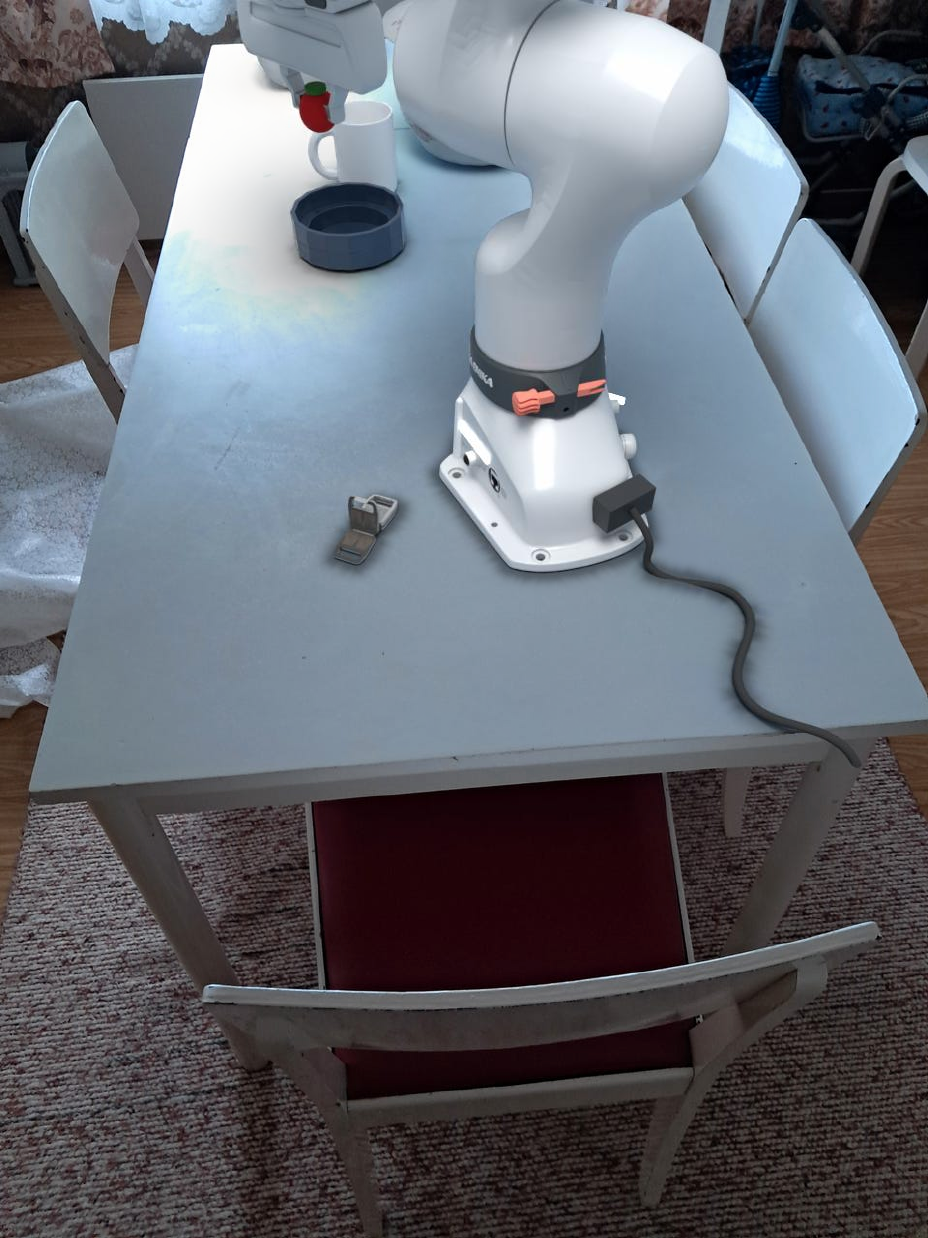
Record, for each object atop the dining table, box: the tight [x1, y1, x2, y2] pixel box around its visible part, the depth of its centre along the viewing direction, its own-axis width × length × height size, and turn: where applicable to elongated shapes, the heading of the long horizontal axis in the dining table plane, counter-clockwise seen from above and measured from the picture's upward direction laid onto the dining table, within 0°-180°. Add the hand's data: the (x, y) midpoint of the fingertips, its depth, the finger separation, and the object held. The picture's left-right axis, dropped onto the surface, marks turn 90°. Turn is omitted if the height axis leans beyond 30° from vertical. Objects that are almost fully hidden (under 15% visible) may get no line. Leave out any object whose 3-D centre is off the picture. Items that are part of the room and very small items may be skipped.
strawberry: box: [298, 81, 335, 133], centre depth 98 cm, size 4×4×5 cm
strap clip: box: [332, 493, 399, 565], centre depth 80 cm, size 8×3×4 cm, turn 157°
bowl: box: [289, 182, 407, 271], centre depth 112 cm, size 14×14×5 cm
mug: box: [307, 99, 398, 193], centre depth 120 cm, size 12×8×10 cm
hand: (319, 114), depth 98 cm, fingers closed on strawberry, 4 cm apart
